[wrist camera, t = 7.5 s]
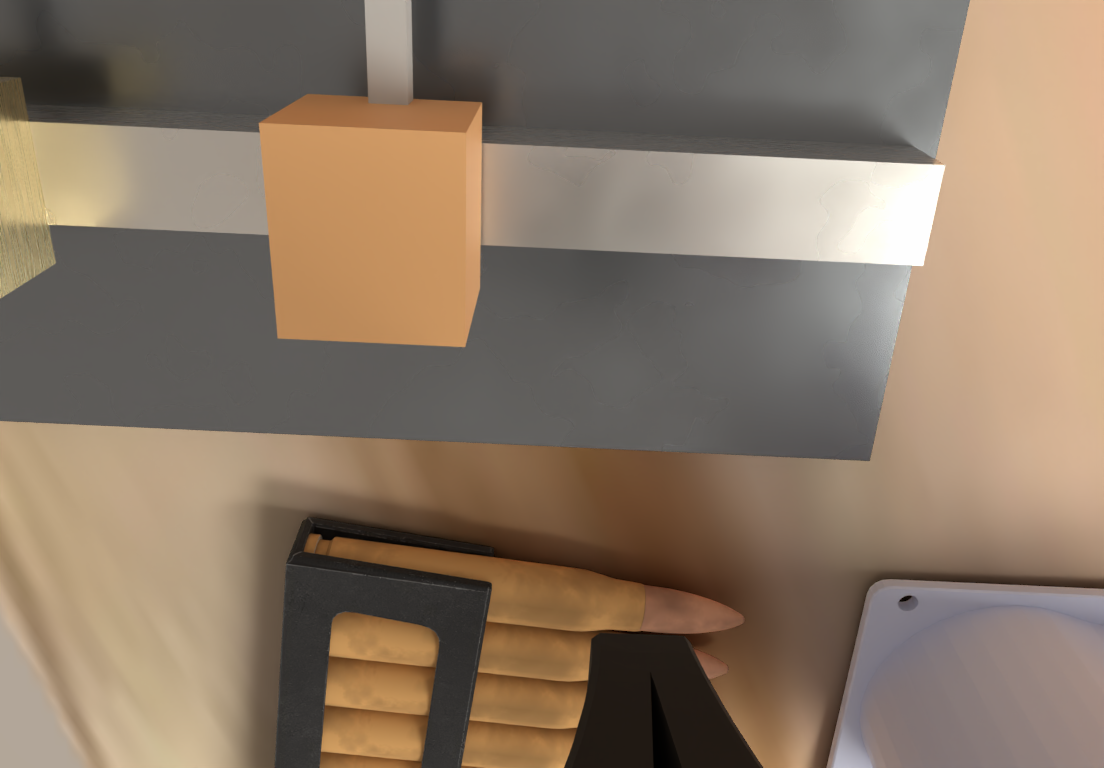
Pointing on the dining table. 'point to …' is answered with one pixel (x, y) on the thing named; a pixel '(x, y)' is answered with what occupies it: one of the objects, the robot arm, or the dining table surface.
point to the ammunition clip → (448, 650)
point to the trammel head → (375, 204)
